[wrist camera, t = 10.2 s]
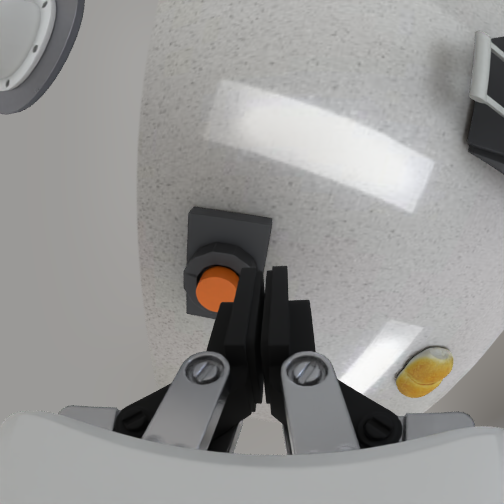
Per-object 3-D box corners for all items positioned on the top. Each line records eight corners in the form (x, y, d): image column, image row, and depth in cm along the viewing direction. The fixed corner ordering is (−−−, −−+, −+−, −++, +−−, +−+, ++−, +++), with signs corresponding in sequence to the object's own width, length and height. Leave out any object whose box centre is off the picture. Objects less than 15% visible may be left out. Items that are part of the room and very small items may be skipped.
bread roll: (386, 385, 34) (392, 407, 31) (417, 344, 30) (427, 366, 27) (426, 385, 34) (433, 404, 31) (457, 346, 30) (468, 365, 27)
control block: (193, 206, 24) (181, 220, 21) (272, 218, 24) (271, 234, 21) (190, 304, 30) (181, 325, 27) (254, 315, 30) (252, 337, 26)
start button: (201, 262, 23) (196, 273, 22) (243, 269, 23) (241, 281, 22) (199, 296, 25) (195, 308, 24) (239, 303, 25) (236, 315, 24)
